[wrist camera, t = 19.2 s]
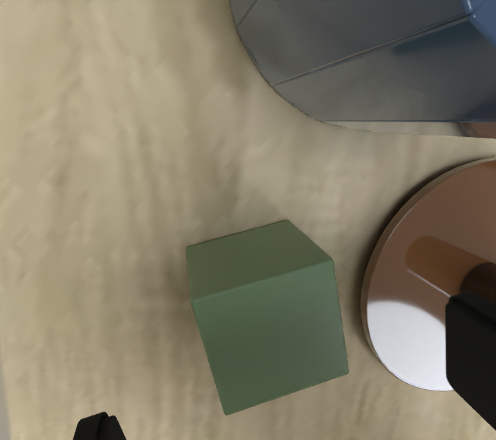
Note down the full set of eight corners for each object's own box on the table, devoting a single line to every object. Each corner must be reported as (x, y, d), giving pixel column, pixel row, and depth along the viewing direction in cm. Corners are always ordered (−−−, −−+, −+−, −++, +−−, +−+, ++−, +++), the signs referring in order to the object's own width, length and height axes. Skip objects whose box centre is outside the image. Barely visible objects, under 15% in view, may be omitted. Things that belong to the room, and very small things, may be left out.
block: (304, 307, 18) (350, 374, 13) (211, 336, 17) (225, 417, 13) (288, 218, 16) (334, 258, 12) (185, 246, 16) (189, 300, 11)
